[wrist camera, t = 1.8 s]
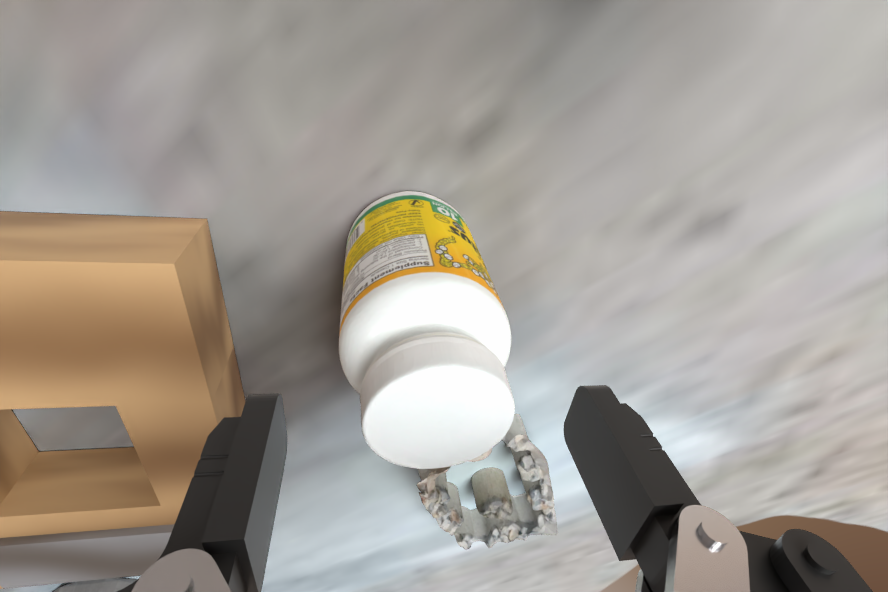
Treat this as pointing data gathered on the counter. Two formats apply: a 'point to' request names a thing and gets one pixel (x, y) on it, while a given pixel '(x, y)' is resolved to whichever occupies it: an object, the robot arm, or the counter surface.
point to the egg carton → (495, 497)
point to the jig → (106, 386)
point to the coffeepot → (97, 585)
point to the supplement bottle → (423, 335)
